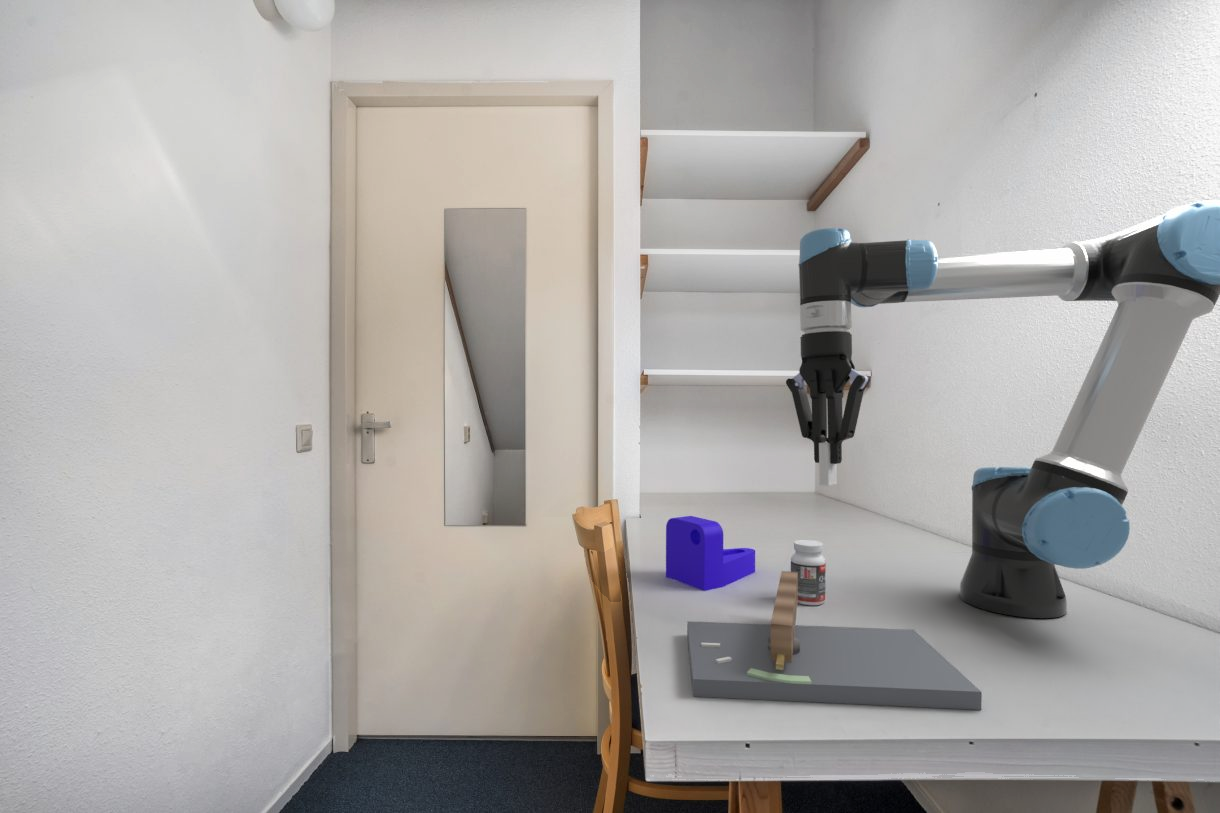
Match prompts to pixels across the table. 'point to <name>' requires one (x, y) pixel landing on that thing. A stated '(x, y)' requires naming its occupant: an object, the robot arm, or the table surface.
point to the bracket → (703, 554)
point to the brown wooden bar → (784, 621)
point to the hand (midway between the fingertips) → (828, 484)
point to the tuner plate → (826, 667)
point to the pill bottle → (809, 571)
